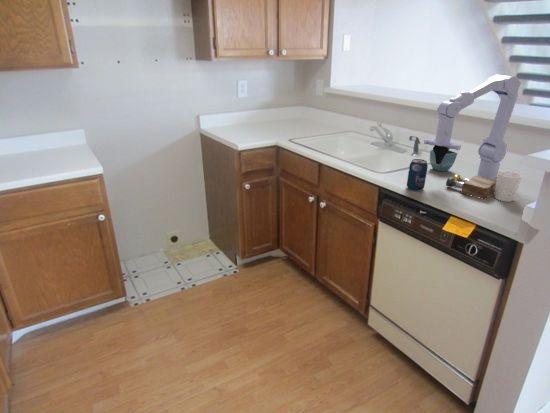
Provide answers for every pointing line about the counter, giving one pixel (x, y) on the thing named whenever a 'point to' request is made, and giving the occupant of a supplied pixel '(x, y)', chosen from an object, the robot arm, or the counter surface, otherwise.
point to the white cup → (507, 185)
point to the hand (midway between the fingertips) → (438, 163)
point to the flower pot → (443, 161)
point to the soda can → (417, 174)
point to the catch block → (479, 187)
